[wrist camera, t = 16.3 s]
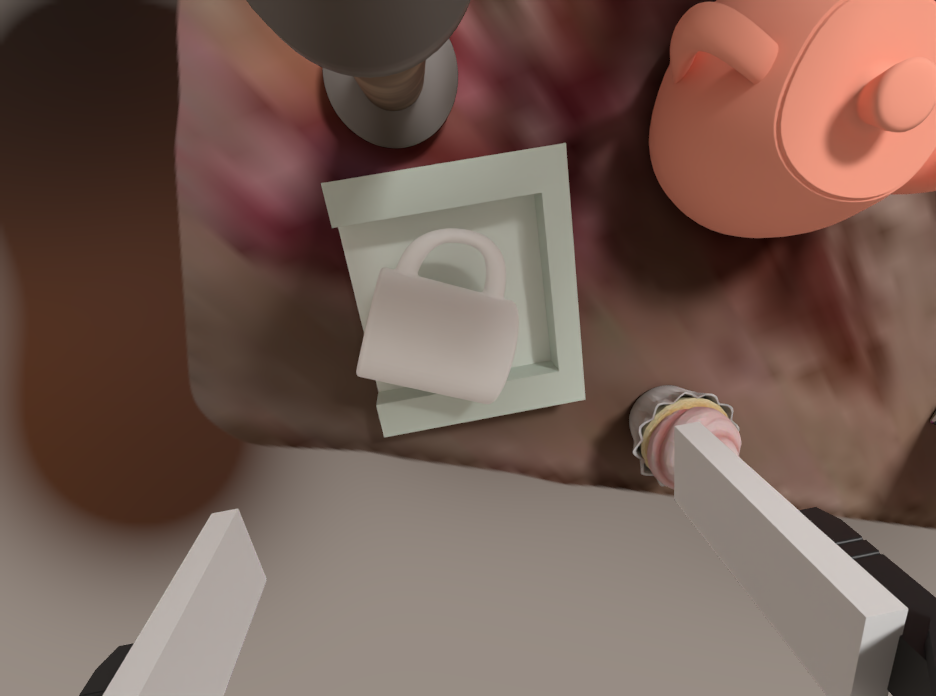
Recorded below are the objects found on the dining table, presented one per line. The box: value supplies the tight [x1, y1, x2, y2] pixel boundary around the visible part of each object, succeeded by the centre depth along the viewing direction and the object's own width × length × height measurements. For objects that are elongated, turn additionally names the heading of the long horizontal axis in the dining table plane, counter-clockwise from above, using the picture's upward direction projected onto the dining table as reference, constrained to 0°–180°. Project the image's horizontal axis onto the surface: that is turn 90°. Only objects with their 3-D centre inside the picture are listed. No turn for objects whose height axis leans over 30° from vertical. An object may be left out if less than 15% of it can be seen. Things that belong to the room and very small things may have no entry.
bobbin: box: [247, 0, 470, 148], centre depth 23 cm, size 9×9×23 cm
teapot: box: [649, 0, 936, 238], centre depth 31 cm, size 25×17×13 cm
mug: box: [356, 228, 519, 404], centre depth 35 cm, size 12×10×8 cm
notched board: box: [321, 143, 585, 437], centre depth 38 cm, size 17×20×3 cm
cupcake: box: [629, 385, 741, 489], centre depth 41 cm, size 9×9×10 cm
